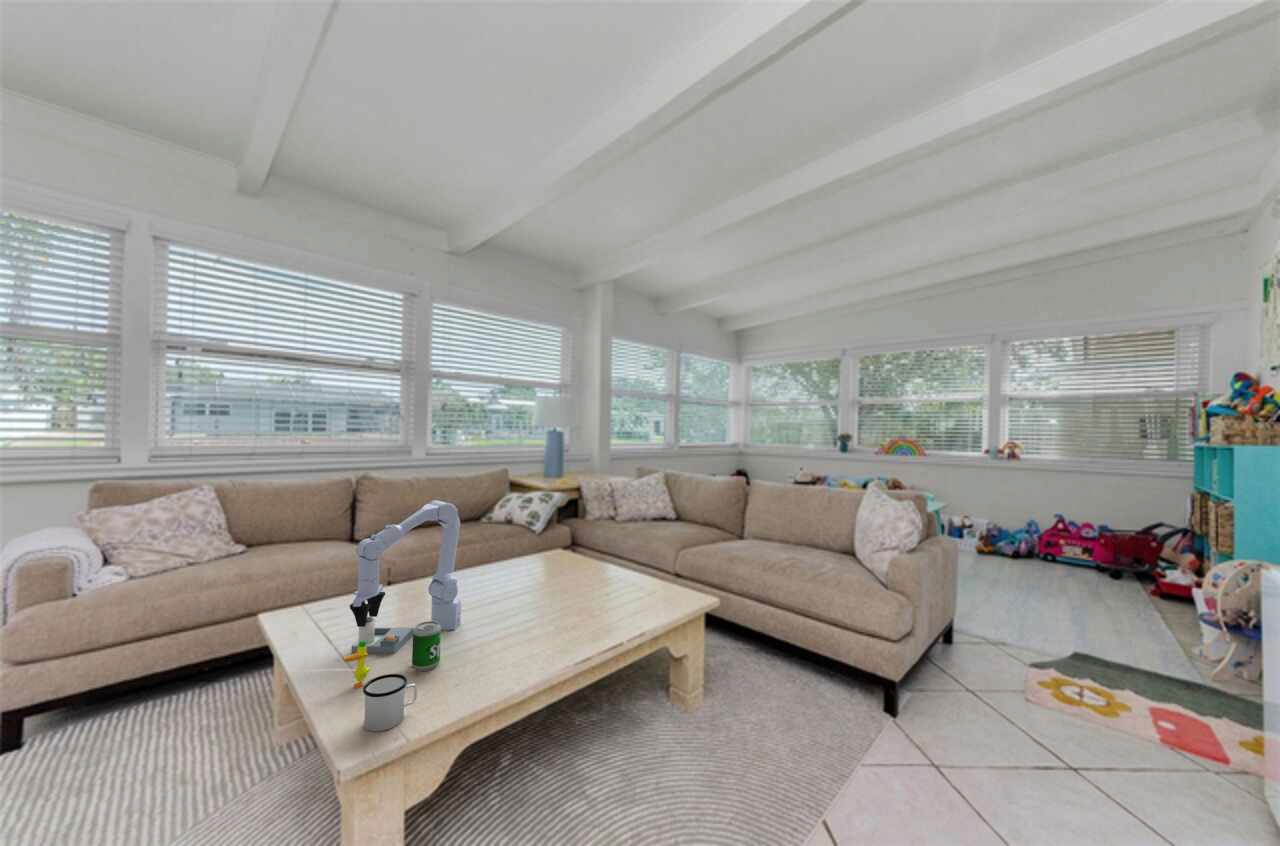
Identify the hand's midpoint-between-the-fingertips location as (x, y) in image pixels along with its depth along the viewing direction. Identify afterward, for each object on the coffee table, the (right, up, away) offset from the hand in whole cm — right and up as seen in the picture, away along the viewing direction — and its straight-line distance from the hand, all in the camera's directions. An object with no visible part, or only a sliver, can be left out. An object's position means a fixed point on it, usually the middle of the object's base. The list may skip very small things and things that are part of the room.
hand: (367, 621), depth 151 cm
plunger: (+7, -7, -1) cm, 10 cm away
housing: (+3, -9, +4) cm, 10 cm away
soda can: (+22, -10, -9) cm, 26 cm away
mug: (+25, -10, -35) cm, 44 cm away
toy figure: (+9, -9, -21) cm, 25 cm away
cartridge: (0, -6, 0) cm, 6 cm away
